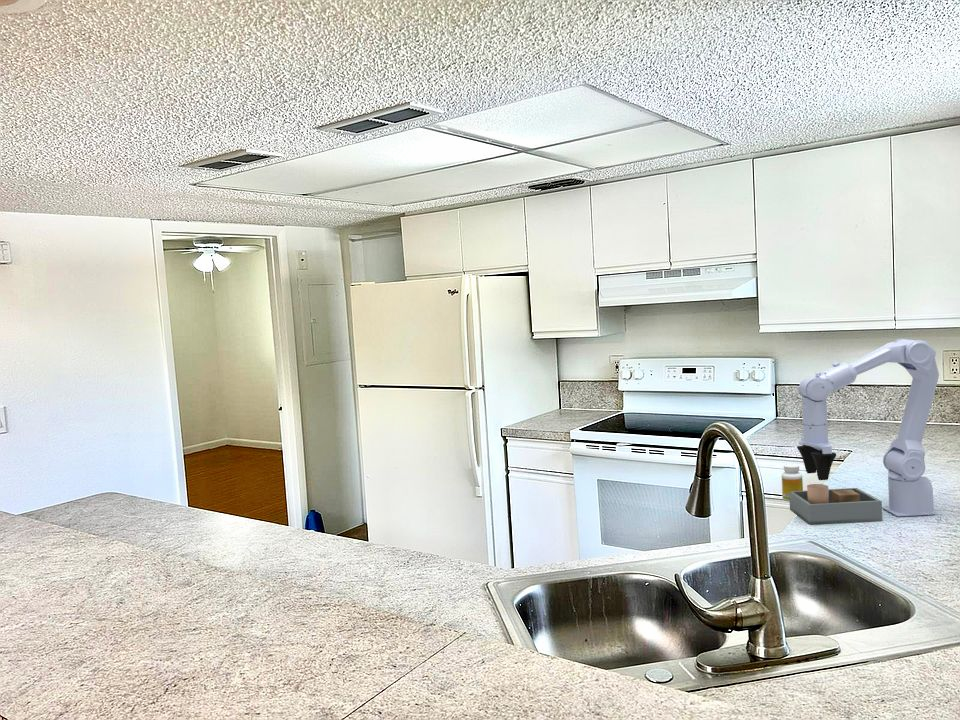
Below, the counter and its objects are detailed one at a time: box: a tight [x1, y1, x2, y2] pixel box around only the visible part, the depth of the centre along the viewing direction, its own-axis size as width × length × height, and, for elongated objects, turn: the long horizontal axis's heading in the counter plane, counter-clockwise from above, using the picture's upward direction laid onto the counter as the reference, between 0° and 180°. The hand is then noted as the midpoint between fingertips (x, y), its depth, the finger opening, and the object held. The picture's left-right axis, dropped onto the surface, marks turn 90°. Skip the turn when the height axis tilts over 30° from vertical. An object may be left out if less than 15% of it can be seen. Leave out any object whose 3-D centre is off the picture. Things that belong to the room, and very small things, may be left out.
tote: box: [789, 487, 883, 526], centre depth 193 cm, size 18×14×5 cm
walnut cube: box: [831, 490, 860, 503], centre depth 193 cm, size 5×5×5 cm
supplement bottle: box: [781, 463, 804, 503], centre depth 210 cm, size 5×5×10 cm
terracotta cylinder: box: [806, 483, 829, 504], centre depth 193 cm, size 5×5×7 cm
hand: (817, 476), depth 193 cm, fingers open, 7 cm apart
